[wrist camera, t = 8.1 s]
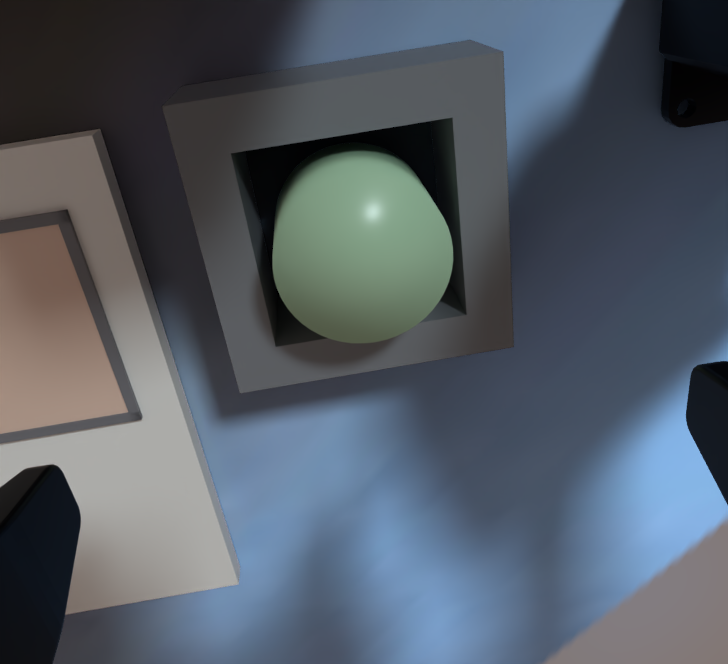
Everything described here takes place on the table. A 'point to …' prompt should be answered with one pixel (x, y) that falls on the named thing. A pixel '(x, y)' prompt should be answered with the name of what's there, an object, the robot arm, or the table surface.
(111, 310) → the picture board
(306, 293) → the button
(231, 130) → the button housing
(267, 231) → the table surface
